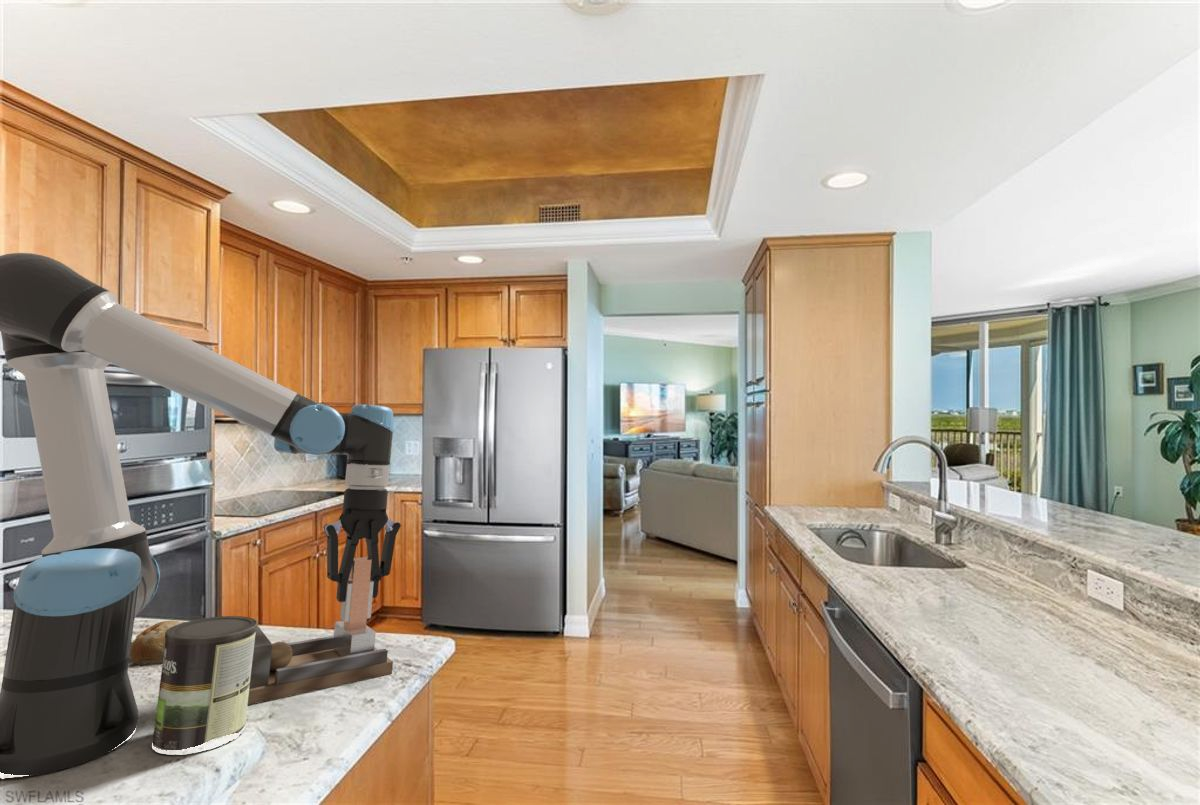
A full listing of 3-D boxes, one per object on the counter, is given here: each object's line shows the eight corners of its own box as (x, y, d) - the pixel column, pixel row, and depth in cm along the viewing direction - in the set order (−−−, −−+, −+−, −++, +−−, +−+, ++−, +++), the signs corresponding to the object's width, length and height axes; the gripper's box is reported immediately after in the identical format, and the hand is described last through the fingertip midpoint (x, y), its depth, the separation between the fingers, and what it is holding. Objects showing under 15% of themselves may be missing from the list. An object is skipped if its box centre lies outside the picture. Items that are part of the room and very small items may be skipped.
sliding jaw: (349, 664, 93) (358, 564, 95) (332, 648, 101) (340, 555, 103) (373, 659, 96) (381, 562, 98) (355, 644, 103) (362, 554, 105)
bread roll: (146, 689, 94) (167, 647, 94) (107, 657, 97) (128, 616, 97) (198, 669, 104) (218, 631, 104) (161, 640, 106) (181, 603, 106)
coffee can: (151, 766, 65) (166, 642, 67) (150, 731, 73) (164, 622, 75) (252, 740, 72) (263, 629, 73) (241, 712, 79) (252, 612, 81)
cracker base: (245, 705, 81) (251, 649, 82) (231, 676, 92) (236, 627, 93) (391, 673, 96) (395, 626, 97) (365, 651, 106) (368, 608, 107)
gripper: (325, 488, 94) (312, 630, 91) (416, 488, 104) (407, 616, 101) (314, 486, 99) (301, 620, 96) (401, 486, 110) (392, 607, 107)
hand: (355, 617), depth 99 cm, fingers closed on sliding jaw, 3 cm apart
